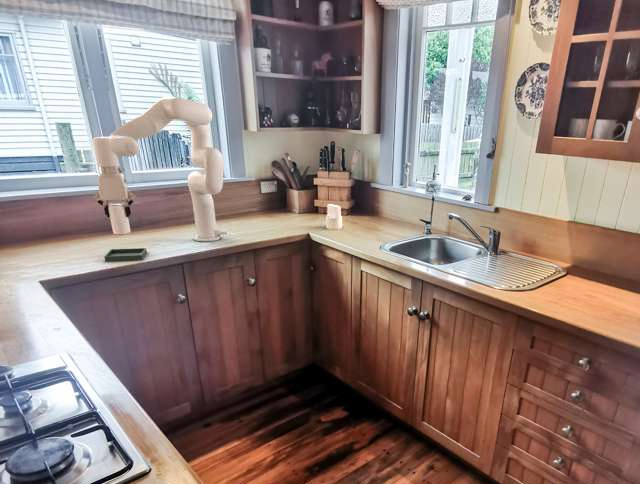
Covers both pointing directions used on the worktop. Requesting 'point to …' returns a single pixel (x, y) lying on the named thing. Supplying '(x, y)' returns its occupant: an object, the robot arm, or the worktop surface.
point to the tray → (125, 254)
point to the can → (119, 219)
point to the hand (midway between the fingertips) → (118, 216)
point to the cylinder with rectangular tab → (333, 217)
